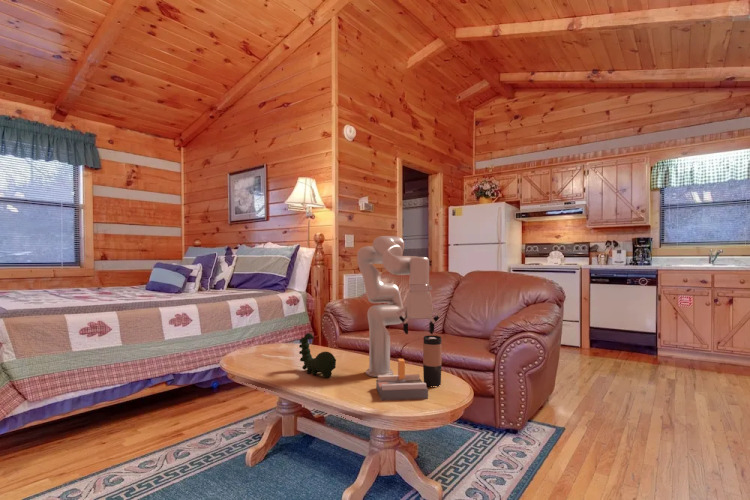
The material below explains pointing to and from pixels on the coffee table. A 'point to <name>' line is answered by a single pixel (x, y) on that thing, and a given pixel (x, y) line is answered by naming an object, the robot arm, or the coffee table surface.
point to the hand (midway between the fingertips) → (418, 333)
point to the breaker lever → (401, 371)
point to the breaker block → (401, 387)
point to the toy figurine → (316, 359)
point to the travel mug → (432, 360)
